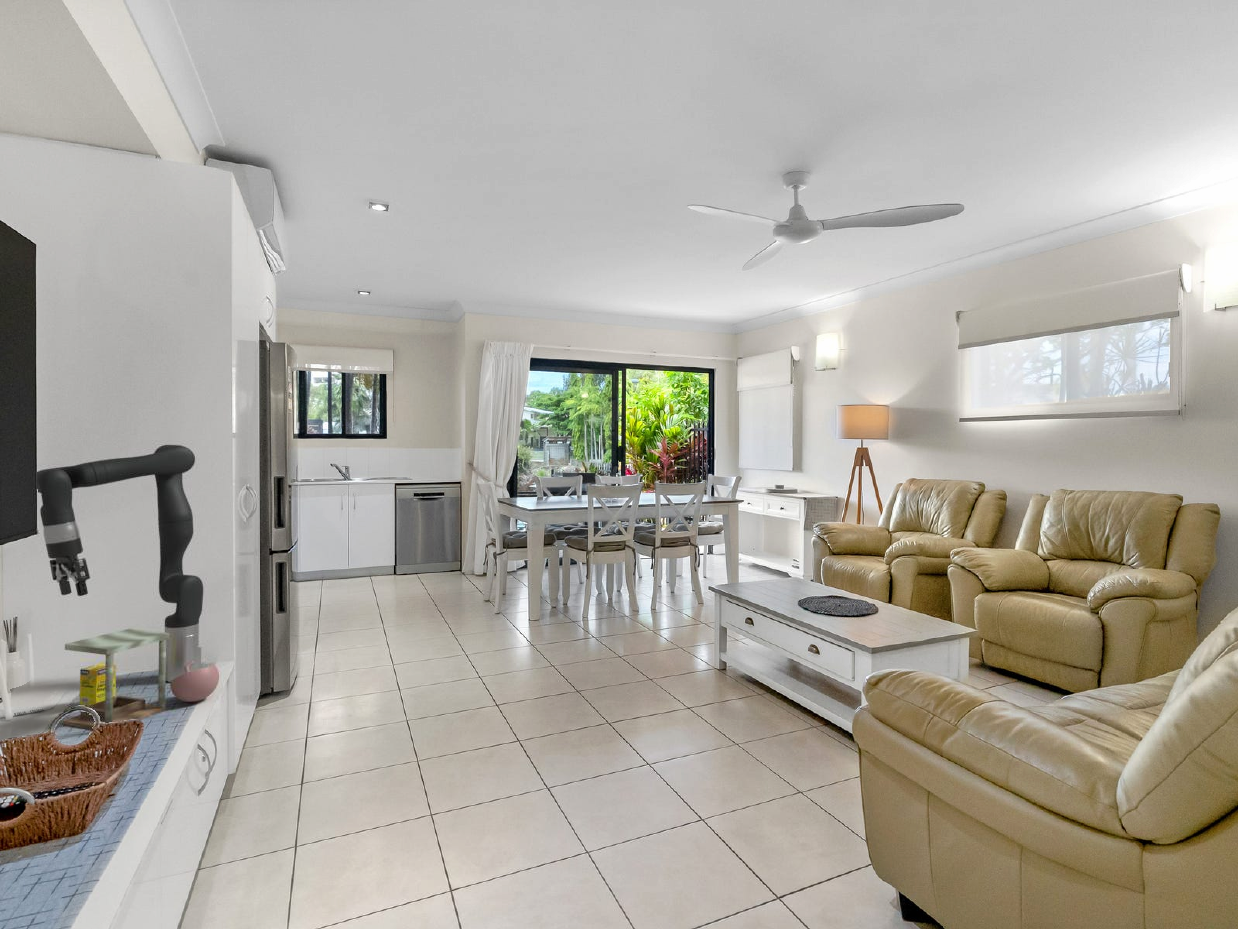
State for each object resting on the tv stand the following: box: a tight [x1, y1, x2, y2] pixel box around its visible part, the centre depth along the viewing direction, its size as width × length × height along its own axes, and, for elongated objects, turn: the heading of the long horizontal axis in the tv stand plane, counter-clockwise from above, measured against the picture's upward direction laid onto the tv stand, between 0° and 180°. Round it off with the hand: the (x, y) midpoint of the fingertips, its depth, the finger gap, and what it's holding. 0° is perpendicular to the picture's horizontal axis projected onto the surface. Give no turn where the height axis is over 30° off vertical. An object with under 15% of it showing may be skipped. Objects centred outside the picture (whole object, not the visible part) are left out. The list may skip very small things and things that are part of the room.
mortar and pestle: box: [169, 661, 220, 703], centre depth 191 cm, size 12×12×12 cm
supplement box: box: [79, 662, 117, 706], centre depth 186 cm, size 6×6×11 cm
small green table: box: [62, 628, 169, 730], centre depth 178 cm, size 17×16×22 cm
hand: (74, 594), depth 185 cm, fingers open, 8 cm apart
